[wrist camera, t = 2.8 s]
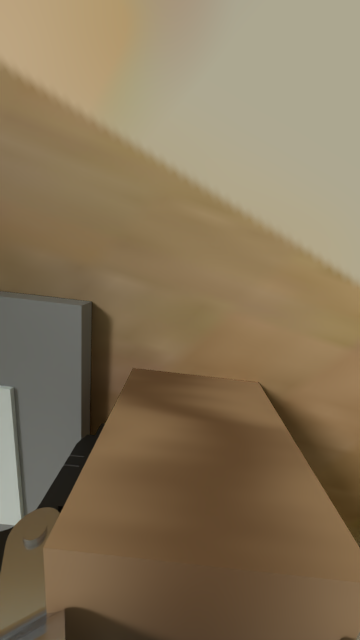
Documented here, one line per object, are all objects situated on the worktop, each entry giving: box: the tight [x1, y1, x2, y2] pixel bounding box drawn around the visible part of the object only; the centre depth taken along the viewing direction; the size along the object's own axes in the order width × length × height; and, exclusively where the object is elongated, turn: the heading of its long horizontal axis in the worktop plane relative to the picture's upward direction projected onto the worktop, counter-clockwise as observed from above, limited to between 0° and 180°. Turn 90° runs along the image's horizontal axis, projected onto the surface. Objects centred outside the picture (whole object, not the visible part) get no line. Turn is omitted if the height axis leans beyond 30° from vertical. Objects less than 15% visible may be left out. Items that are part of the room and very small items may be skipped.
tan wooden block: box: [43, 368, 360, 640], centre depth 8 cm, size 6×6×7 cm
